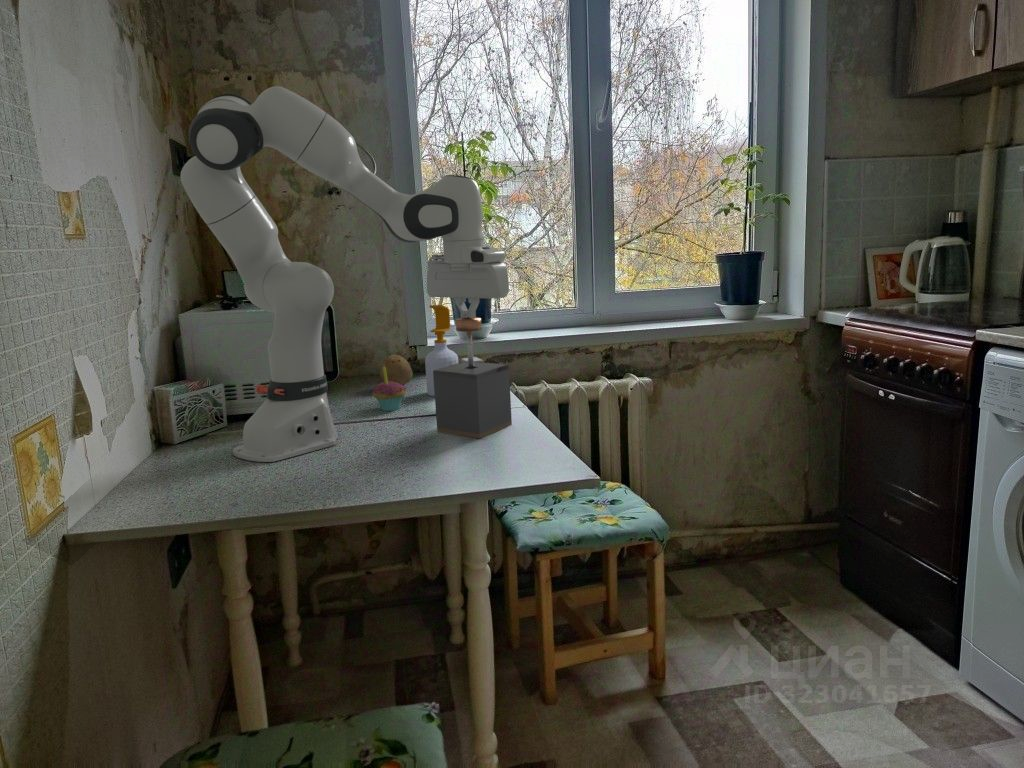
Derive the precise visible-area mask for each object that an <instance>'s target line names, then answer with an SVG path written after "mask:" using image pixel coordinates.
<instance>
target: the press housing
mask: <svg viewBox="0 0 1024 768" xmlns="http://www.w3.org/2000/svg"><path fill="white" fill-rule="evenodd" d="M433 378H434V392H435V397H434V400H435V401H434V403H435V404H434V405H435V416H436V431H437V433H443V434H448V435H454V436H460V437H467V438H473V439H483V438H485V437H487V436H490V435H491V434H495V433H497V432H499V431H501V430H503V429H505V428H507V427H510V426H512V425H513V423H512V419H513V418H512V404H511V403H512V402H511V399H512V398H511V384H510V383H511V381H510V364H508V363H496V362H484V361H483V362H474V369H469V367H468V361H464V362H461V361H460V362H458V364H454V365H451V366H447V367H444V368H440V369H437V370H434V371H433Z"/></svg>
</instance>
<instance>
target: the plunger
mask: <svg viewBox="0 0 1024 768" xmlns="http://www.w3.org/2000/svg"><path fill="white" fill-rule="evenodd" d="M482 325H483V324H482V318H481V317H480V316H479V317H478V316H476V318H474V319H462V318H461V317H458V318H455V330H456V332H464V333H466V347H467V358H468V367H469V369H474V360H473V357H474V346H473V345H474V344H473V332H478V331H481V330H483V327H482Z"/></svg>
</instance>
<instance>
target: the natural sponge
mask: <svg viewBox="0 0 1024 768" xmlns="http://www.w3.org/2000/svg"><path fill="white" fill-rule="evenodd" d="M383 364H384V366H383ZM383 367H386V374H387V380H388V381H394V382H398V383H400V384H402V385H403V386H404V387H405V385H406V384H408V383H409V382H410V381H411V380H412V378H413V375H414V374H413V371H412V370H413V369H412V367H411V365H410V364H409V362H408V360H407V359H406V358H405V357H403V356H401V355H398V354H390V355H388V356H386V358H385V359H383V361H382V363H381V365H380V371H379V376H380V378H381V380H382V381H383V382H385V378H384V371H383Z"/></svg>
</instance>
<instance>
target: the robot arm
mask: <svg viewBox="0 0 1024 768" xmlns="http://www.w3.org/2000/svg"><path fill="white" fill-rule="evenodd" d="M188 139H189V145H190V148H191V151H192V152H193V154H194V155H195V156H192V157H191V158H190V159H188V160H187V162H186V163H184V165H183V166H182V168H181V171H180V182H181V184H182V187H183V189H184V190H185V192H186V194H187V196H188V198H189V199H190V201H191V203H192V205H193V207H194V208H195V210H196V212H197V213H198V214H199V216H200V218H202V220H203V222H204V223H205V224H206V225H207V227H208V228H209V230H210V231H211V232H212V233H213V235H214V237H216V240H218V242H219V243H220V245H221V246H222V247H223V248H224V250H225V251H226V252H227V254H228V256H229V257H230V259H231V261H232V263H233V264H234V266H235V269H237V272H238V274H239V276H240V279H241V280H242V282H243V289H244V294H245V296H246V298H247V300H248V301H250V302H251V303H252V304H253V306H256V307H257V308H259V309H260V310H263V311H265V312H267V313H273V314H274V322H273V329H272V334H271V337H270V339H269V340H268V343H267V355H268V363H269V370H270V377H271V379H270V380H269V383H268V386H267V385H266V384H256V387H255V393H257V395H259V394H260V395H265V398H266V399H265V400H264V401H263V403H262V404H261V405H260V406H259V408H257V410H256V411H254V413H253V414H252V416H250V417H249V419H247V421H246V422H245V423H244V426H243V432H242V433H243V434H242V444H240V445H237V446H236V447H234V448H233V449H232V455H233V456H235V457H236V458H239V459H241V460H246V461H249V462H250V461H251V462H257V463H267V462H268V463H271V462H272V463H273V462H278V461H283V460H285V459H289V458H292V457H297V456H299V455H304V454H307V453H310V452H311V453H312V452H314V451H317V450H322V449H326V448H329V447H332V446H335V445H337V439H338V438H339V434H338V432H337V431H338V430H337V429H336V427H335V423H334V421H333V417H332V413H331V409H330V406H329V400H328V399H329V398H328V391H329V386H328V380H327V375H326V374H325V371H324V369H325V368H324V360H323V350H322V349H323V348H322V333H323V325H324V319H325V314H326V310H327V308H328V307H329V306H330V304H331V303H332V301H333V298H334V296H335V295H334V294H335V287H334V281H333V280H332V277H331V276H330V274H329V273H328V272H327V271H326V270H324V269H323V268H321V267H319V266H316V265H314V264H312V263H309V262H306V261H305V262H304V261H291V260H290V259H289V258H288V257H287V255H286V253H285V252H284V250H283V248H282V247H283V246H282V245H281V243H280V240H279V237H278V235H279V229H278V228H279V227H278V226H277V224H276V222H275V221H274V220H273V218H272V217H271V215H270V214H269V212H268V211H267V210H266V208H265V206H264V205H263V203H262V202H261V201H260V200H259V198H258V197H257V195H256V194H255V192H254V191H253V189H252V188H251V187H250V185H249V184H248V182H247V181H246V179H245V178H244V175H243V173H242V170H241V167H242V166H243V165H244V164H246V163H248V162H249V160H251V159H252V158H253V157H255V155H257V154H258V153H260V152H261V151H263V148H265V147H266V148H267V147H268V148H272V149H274V150H276V151H278V152H279V153H281V154H283V155H284V156H286V157H287V158H289V159H290V160H292V161H293V162H295V163H296V164H297V165H298V166H300V167H302V168H304V169H305V170H307V171H308V172H310V173H312V174H313V175H315V176H317V177H319V178H321V179H324V180H325V181H327V182H330V183H331V184H333V185H335V186H337V187H339V188H341V189H342V190H345V191H346V192H347V193H349V194H350V195H351V196H353V197H355V199H357V200H358V201H360V202H361V203H362V204H364V205H365V206H366V207H368V208H369V209H370V210H372V211H373V212H374V213H376V214H377V215H378V217H380V218H381V220H382V221H383V223H384V225H385V226H386V228H387V230H388V231H389V233H390V234H391V235H392V236H393V237H394V238H396V240H399V241H401V242H403V243H417V242H423V241H424V242H425V241H426V242H427V241H431V240H433V239H437V238H439V237H440V238H442V249H443V254H439V255H438V254H433V255H431V257H430V258H429V259H428V261H427V271H426V292H427V294H428V296H429V298H446V299H447V298H450V299H451V298H454V301H455V302H454V303H455V305H456V307H457V308H458V311H459V313H460V318H462V319H474V318H476V317H477V315H476V314H477V312H476V310H477V308H478V307H479V304H480V299H497V300H498V299H503V298H506V297H507V296H508V295H509V292H510V283H509V273H508V268H507V266H506V265H505V263H503V262H504V261H505V259H506V253H505V251H503V250H501V249H498V248H496V247H493V246H490V245H488V244H485V237H484V236H485V235H484V232H483V229H482V225H483V221H484V216H483V215H484V214H483V213H484V212H483V204H482V196H481V192H480V188H479V184H478V182H477V181H476V180H475V179H474V178H471V177H470V176H469V177H468V176H464V175H459V174H458V175H457V174H447V175H443V176H442V177H441V179H439V180H438V181H437V182H435V183H434V184H432V185H431V186H429V187H427V188H425V189H423V190H421V191H419V192H417V193H413V194H407V193H403V192H399V191H397V190H396V189H394V188H393V187H392V186H390V185H389V184H388V183H386V182H385V181H384V180H383V179H381V178H380V177H379V176H377V175H376V174H374V173H373V172H372V171H371V170H369V168H367V166H365V164H364V162H363V161H362V159H361V157H360V155H359V152H358V146H357V142H356V140H355V138H354V136H353V135H352V134H351V133H350V132H349V131H348V130H347V128H345V127H344V126H343V125H342V124H341V123H340V122H339V121H338V120H336V119H335V118H334V117H333V116H331V114H329V113H328V112H326V111H324V110H323V109H322V108H320V107H319V106H317V105H316V104H314V103H313V102H311V100H308V99H306V98H305V97H303V96H301V95H299V94H297V93H296V92H294V91H291V90H289V89H287V88H285V87H284V86H279V85H275V86H273V85H272V86H271V87H269V88H266V89H265V90H264V91H262V92H261V93H260V94H258V97H256V99H255V100H254V102H253V103H252V102H250V101H249V100H248V99H246V98H245V97H243V96H242V95H239V94H235V93H221V94H219V95H216V96H214V97H213V98H211V99H210V100H209V101H207V102H206V103H205V104H203V105H202V106H201V108H200V109H199V110H198V112H197V114H196V115H195V117H194V118H193V119H192V121H191V123H190V126H189V130H188ZM467 301H468V303H469V308H467V305H466V302H467Z"/></svg>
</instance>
